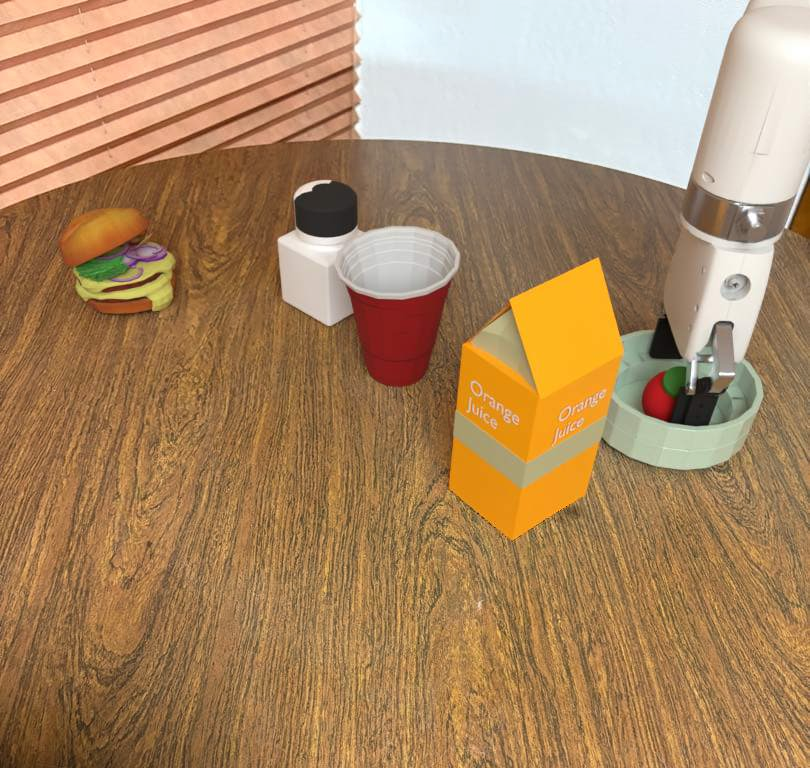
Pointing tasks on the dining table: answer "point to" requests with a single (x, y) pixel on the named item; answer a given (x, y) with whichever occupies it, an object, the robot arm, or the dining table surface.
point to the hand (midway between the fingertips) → (676, 390)
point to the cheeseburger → (118, 262)
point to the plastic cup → (397, 297)
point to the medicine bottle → (318, 250)
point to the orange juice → (535, 401)
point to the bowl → (677, 441)
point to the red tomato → (663, 393)
